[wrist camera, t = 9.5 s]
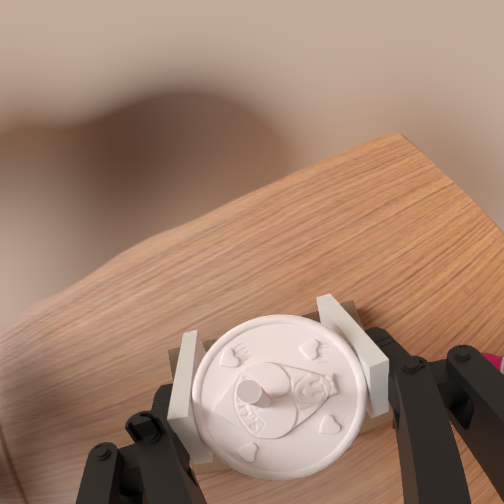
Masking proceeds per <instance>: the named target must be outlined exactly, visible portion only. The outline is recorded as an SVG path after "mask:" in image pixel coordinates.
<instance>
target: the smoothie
mask: <svg viewBox="0 0 504 504" xmlns="http://www.w3.org/2000/svg"><path fill="white" fill-rule="evenodd" d="M192 407H193V413H194V417H195V421H196V425H197V429H198V431H199V434H200V436H201V437H202V439H203V441H204V442H205V444H206V445H207V447H208V448H209V449H210V450H211V452H212V453H213V454H214V455H215V456H216V457H217V458H218V459H219V460H221V461H222V462H223V463H224V464H226V465H227V466H229V467H230V468H232V469H234V470H236V471H237V472H240V473H242V474H244V475H247V476H250V477H253V478H257V479H262V480H270V481H284V480H293V479H298V478H302V477H305V476H308V475H311V474H314V473H316V472H318V471H320V470H322V469H324V468H325V467H327V466H329V465H330V464H332V463H333V462H334V461H335V460H337V459H338V458H339V457H340V456H341V455H342V454H343V453H344V452H345V451H346V450H347V449H348V448H349V446H350V445H351V444H352V442H353V441H354V439H355V438H356V436H357V434H358V432H359V430H360V428H361V425H362V423H363V420H364V417H365V412H366V407H367V385H366V379H365V375H364V372H363V369H362V366H361V364H360V362H359V360H358V358H357V356H356V355H355V353H354V351H353V350H352V349H351V347H350V346H349V345H348V344H347V343H346V342H345V340H344V339H342V338H341V337H340V336H339V335H338V334H337V333H335V332H334V331H333V330H331V329H330V328H328V327H326V326H325V325H323V324H321V323H319V322H316V321H314V320H311V319H308V318H304V317H300V316H294V315H269V316H263V317H259V318H255V319H252V320H249V321H246V322H244V323H242V324H240V325H238V326H236V327H234V328H233V329H231V330H229V331H228V332H227V333H225V334H224V335H223V336H222V337H220V338H219V339H218V340H217V341H216V342H215V343H214V344H213V345H212V347H211V348H210V349H209V350H208V352H207V353H206V355H205V356H204V358H203V359H202V361H201V363H200V365H199V367H198V370H197V372H196V375H195V379H194V383H193V388H192Z"/></svg>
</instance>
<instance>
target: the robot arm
mask: <svg viewBox="0 0 504 504" xmlns="http://www.w3.org/2000/svg"><path fill="white" fill-rule="evenodd" d="M316 299H317V305H318V310H319V316H320V321H321V324H323V325H325V326H326V327H328V328H330V329H331V330H333V331H334V332H335V333H337V334H338V335H339V336H340V337H341V338H342V339H344V340H345V342H346V343H347V344H348V345H349V346H350V347H351V349H352V350H353V351H354V353H355V355H356V356H357V358H358V360H359V362H360V364H361V366H362V369H363V372H364V375H365V379H366V385H367V407H366V411H367V412H368V414H369V416H370V417H371V419H372V418H374V417H377V416H379V415H382V414H384V413H386V412H389V403H390V404H391V406H392V407H393V408H394V415H393V428H395V430H396V436H397V443H398V450H399V458H400V466H401V475H402V484H403V495H404V504H471V500H470V495H469V490H468V486H467V482H466V478H465V474H464V470H463V466H462V462H461V458H460V455H459V451H458V448H457V444H456V441H455V438H454V434H453V431H452V428H451V425H450V422H451V423H452V424H453V426H454V427H455V429H456V430H457V432H458V433H459V434H460V436H461V437H462V439H463V440H464V442H465V443H466V445H467V446H468V448H469V449H470V451H471V452H472V454H473V455H474V457H475V458H476V460H477V461H478V463H479V464H480V466H481V467H482V469H483V470H484V472H485V473H486V475H487V476H488V478H489V479H490V481H491V483H492V484H493V486H494V487H495V489H496V491H497V492H498V494H499V495H500V497H501V499H502V500H503V502H504V375H503V374H502V373H501V372H500V371H499V370H498V369H497V368H496V367H495V366H494V365H493V364H492V363H491V362H490V361H489V360H487V359H486V358H485V357H484V356H483V355H482V354H481V353H480V352H479V351H478V350H476V349H475V348H474V347H472V346H469V345H458V346H455V347H453V348H451V349H450V350H449V352H448V353H447V359H444V360H439V361H435V362H427V361H426V359H424V358H422V357H418V356H411V355H410V354H409V353H408V352H407V351H406V350H405V349H404V348H403V347H402V346H401V345H400V344H399V343H398V342H397V341H395V340H394V339H393V338H392V337H391V336H390V335H389V334H388V333H387V332H386V331H385V330H383V329H381V328H378V327H374V328H371V329H369V330H366V331H363V330H362V328H361V327H360V326H359V325H358V324H357V323H356V322H355V321H354V320H353V318H352V317H351V316H350V315H349V314H348V313H347V312H346V311H345V310H344V308H343V307H342V306H341V305H340V304H339V303H338V302H337V301H336V300H335V299H334V297H333V296H332V295H331V294H327V295H323V296H320V297H317V298H316ZM205 355H206V351H205V348H204V346H203V343H202V340H201V338H200V335H199V332H198V330H194V331H190V332H185V333H184V334H183V339H182V343H181V348H180V353H179V358H178V363H177V368H176V373H175V378H174V383H173V384H167V385H162V386H161V387H160V388H159V389H158V391H157V392H156V393H155V397H154V402H153V405H152V409H151V411H142V412H139V413H137V414H134V415H133V416H132V417H130V418H129V419H128V421H127V422H126V425H125V429H126V430H127V432H128V433H129V435H130V436H131V438H132V439H133V440H134V442H135V443H134V444H132V445H129V446H126V447H123V448H120V449H118V448H117V447H116V446H115V444H113V443H109V442H104V443H100V444H98V445H96V446H95V447H94V448H93V449H92V450H91V451H90V453H89V455H88V458H87V462H86V465H85V469H84V473H83V477H82V480H81V484H80V488H79V492H78V496H77V501H76V504H207V502H206V500H205V498H204V496H203V493H202V491H201V489H200V487H199V484H198V482H197V480H196V477H195V475H194V472H193V471H192V469H191V468H190V466H189V460H190V458H191V460H192V461H193V463H194V464H202V463H209V462H213V453H212V452H211V450H210V449H209V448H208V447H207V445H206V444H205V442H204V441H203V439H202V437H201V436H200V434H199V431H198V429H197V425H196V421H195V417H194V413H193V407H192V388H193V383H194V379H195V375H196V372H197V370H198V367H199V365H200V363H201V361H202V359H203V358H204V356H205ZM449 420H450V422H449Z"/></svg>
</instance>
